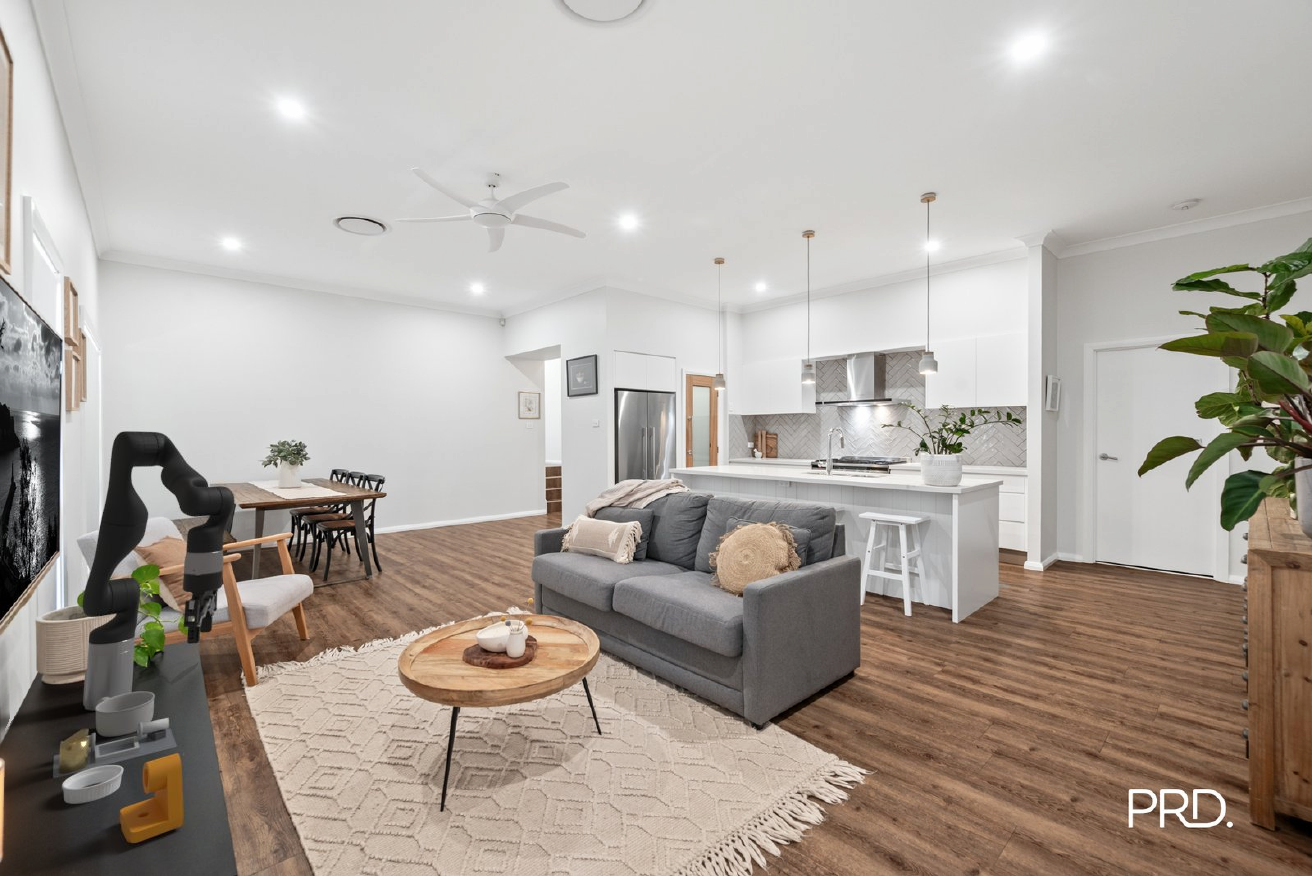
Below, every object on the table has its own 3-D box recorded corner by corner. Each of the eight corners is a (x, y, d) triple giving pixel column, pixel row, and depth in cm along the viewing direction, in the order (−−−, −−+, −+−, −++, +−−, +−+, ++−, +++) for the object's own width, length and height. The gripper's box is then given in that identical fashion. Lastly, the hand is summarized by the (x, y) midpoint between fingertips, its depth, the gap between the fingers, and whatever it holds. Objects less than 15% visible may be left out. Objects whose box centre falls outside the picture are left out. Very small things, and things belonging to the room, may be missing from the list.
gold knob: (75, 775, 123) (77, 741, 124) (49, 777, 122) (51, 743, 123) (95, 759, 130) (97, 728, 130) (71, 761, 129) (73, 729, 129)
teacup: (162, 729, 147) (164, 696, 147) (107, 748, 137) (109, 713, 137) (132, 717, 153) (134, 685, 153) (77, 734, 143) (79, 701, 143)
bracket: (118, 823, 110) (122, 758, 111) (167, 806, 116) (171, 744, 116) (131, 849, 104) (135, 779, 104) (182, 830, 109) (186, 764, 110)
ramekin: (68, 817, 112) (70, 794, 112) (54, 801, 116) (55, 779, 117) (129, 795, 119) (130, 773, 119) (113, 781, 124) (114, 760, 124)
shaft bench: (52, 784, 122) (54, 755, 122) (53, 761, 131) (55, 734, 131) (176, 752, 136) (178, 726, 136) (170, 733, 145) (171, 709, 145)
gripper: (195, 564, 148) (191, 629, 148) (172, 576, 135) (168, 648, 134) (231, 563, 151) (227, 627, 150) (212, 575, 138) (208, 645, 137)
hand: (199, 637), depth 142 cm, fingers open, 8 cm apart
